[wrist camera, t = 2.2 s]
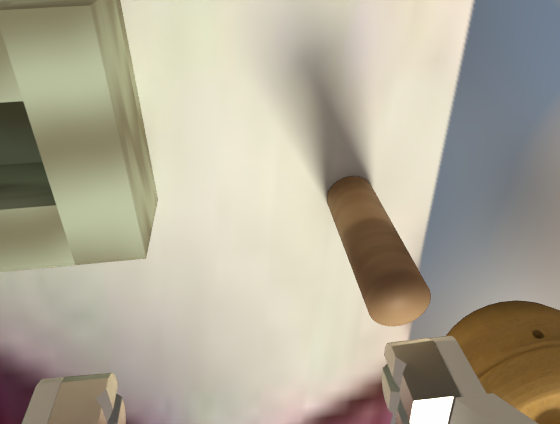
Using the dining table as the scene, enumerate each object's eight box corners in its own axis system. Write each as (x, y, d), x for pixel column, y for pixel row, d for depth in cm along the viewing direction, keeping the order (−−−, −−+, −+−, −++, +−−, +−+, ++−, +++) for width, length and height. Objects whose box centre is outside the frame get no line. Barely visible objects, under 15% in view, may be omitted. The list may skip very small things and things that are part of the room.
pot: (393, 326, 38) (444, 446, 30) (536, 251, 36) (635, 357, 27) (450, 401, 44) (506, 519, 36) (576, 341, 42) (668, 452, 33)
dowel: (371, 214, 32) (426, 322, 24) (326, 218, 32) (366, 329, 24) (374, 174, 31) (434, 274, 22) (327, 178, 31) (370, 280, 22)
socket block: (157, 199, 30) (145, 258, 25) (-48, 216, 29) (-104, 281, 24) (117, -16, 24) (90, 5, 19) (-147, -2, 23) (-250, 23, 18)
